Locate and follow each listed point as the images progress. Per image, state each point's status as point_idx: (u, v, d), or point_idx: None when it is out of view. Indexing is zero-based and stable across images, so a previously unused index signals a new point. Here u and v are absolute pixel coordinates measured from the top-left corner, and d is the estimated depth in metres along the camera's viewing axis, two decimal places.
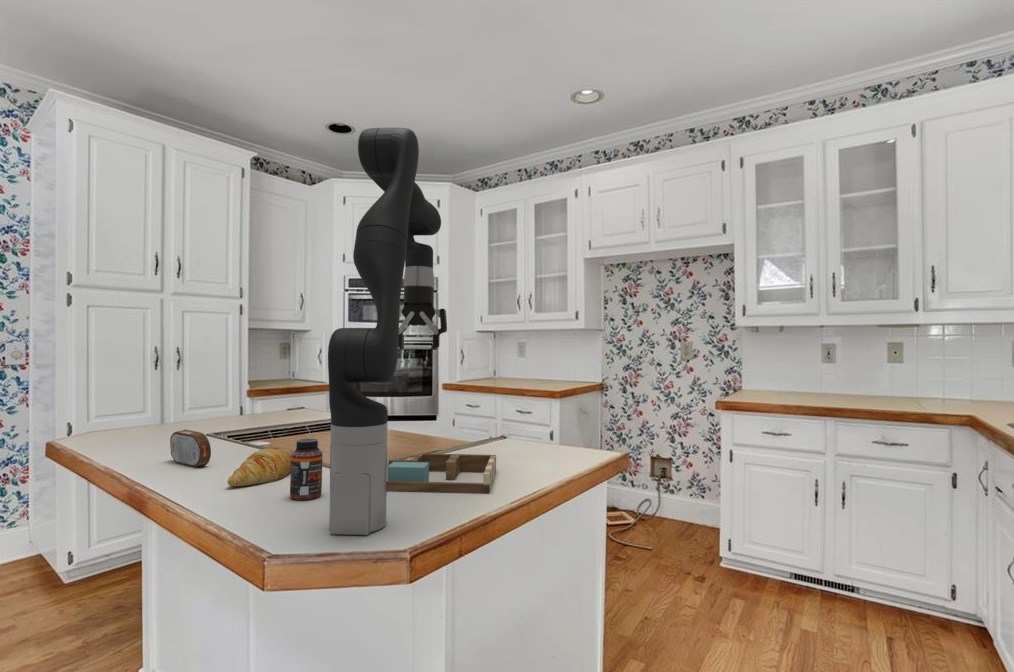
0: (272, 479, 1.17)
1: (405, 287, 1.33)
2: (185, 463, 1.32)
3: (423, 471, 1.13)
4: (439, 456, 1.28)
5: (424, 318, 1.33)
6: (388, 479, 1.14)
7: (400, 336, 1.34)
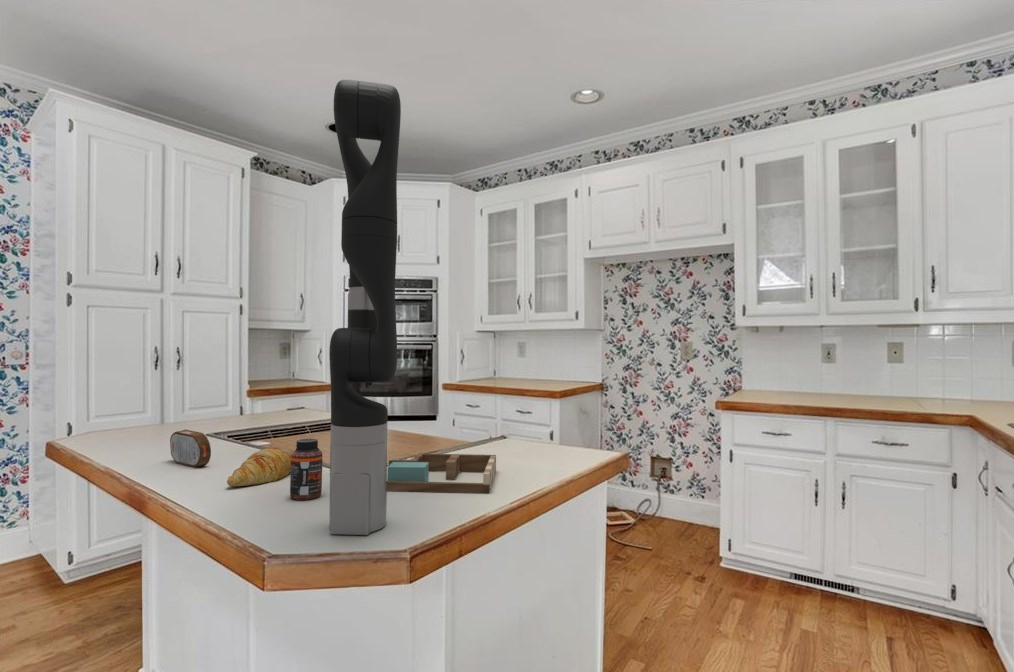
0: (272, 479, 1.17)
1: (349, 311, 1.15)
2: (185, 463, 1.32)
3: (424, 471, 1.13)
4: (439, 456, 1.28)
5: None
6: (388, 479, 1.13)
7: None
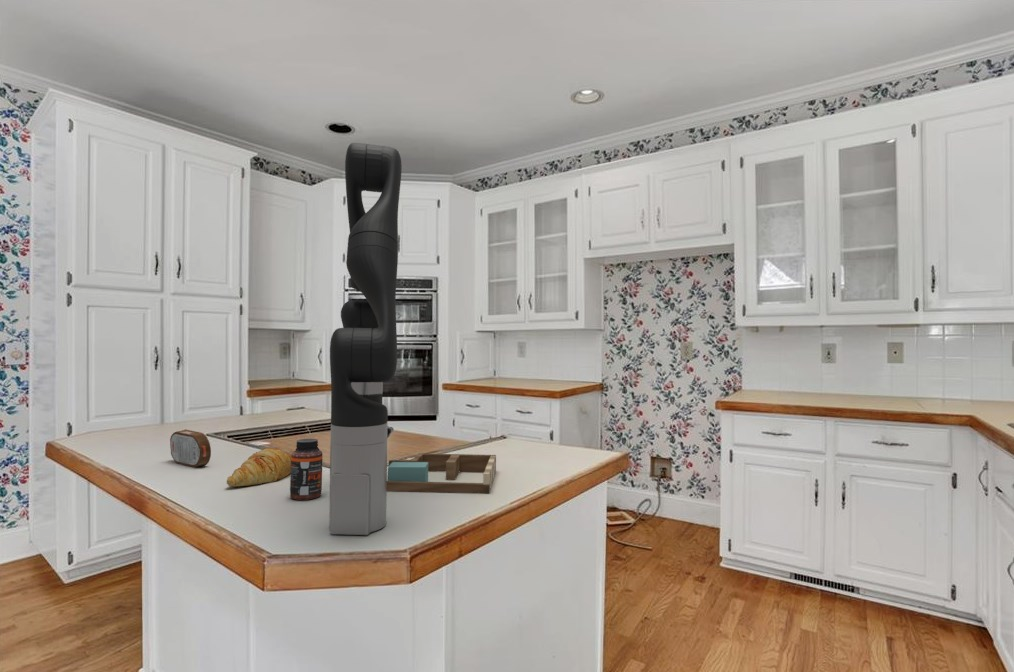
0: (272, 479, 1.17)
1: None
2: (185, 463, 1.32)
3: (424, 471, 1.14)
4: (439, 456, 1.28)
5: None
6: (389, 479, 1.13)
7: None
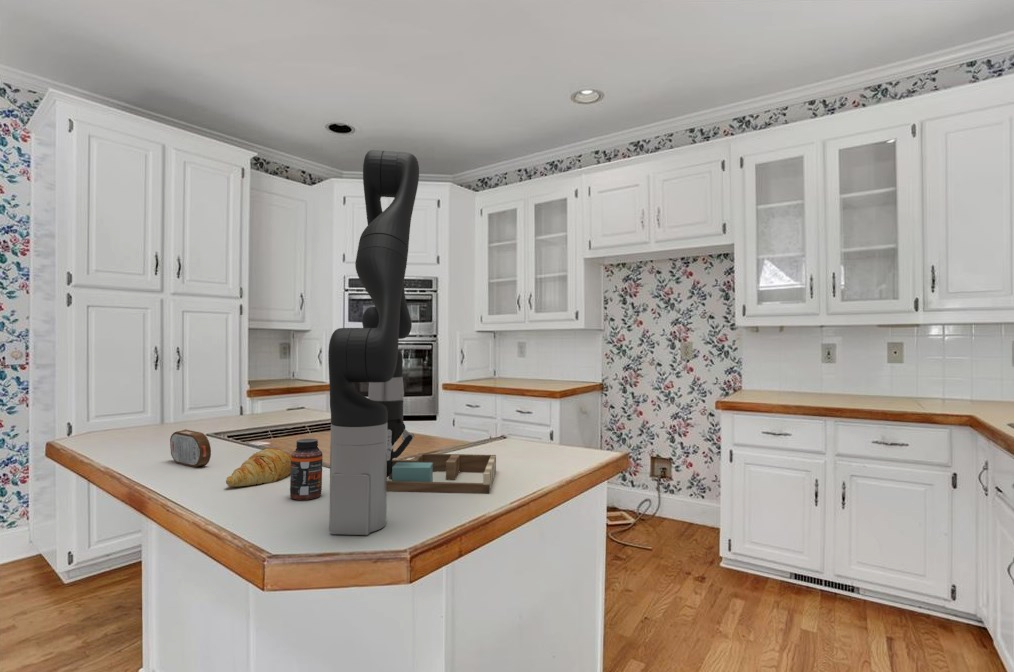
0: (271, 480, 1.16)
1: None
2: (185, 463, 1.32)
3: (429, 471, 1.13)
4: (439, 456, 1.28)
5: (387, 437, 1.15)
6: (393, 480, 1.13)
7: None
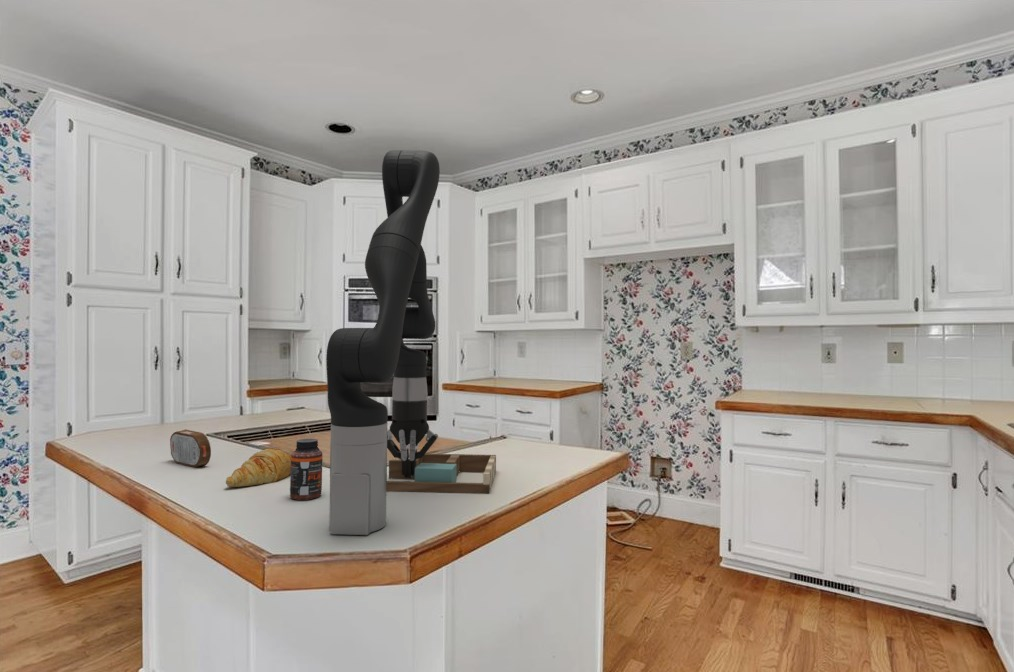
0: (271, 480, 1.16)
1: (394, 401, 1.14)
2: (185, 463, 1.32)
3: (450, 473, 1.12)
4: (439, 456, 1.28)
5: (412, 438, 1.14)
6: (415, 480, 1.12)
7: (405, 463, 1.15)
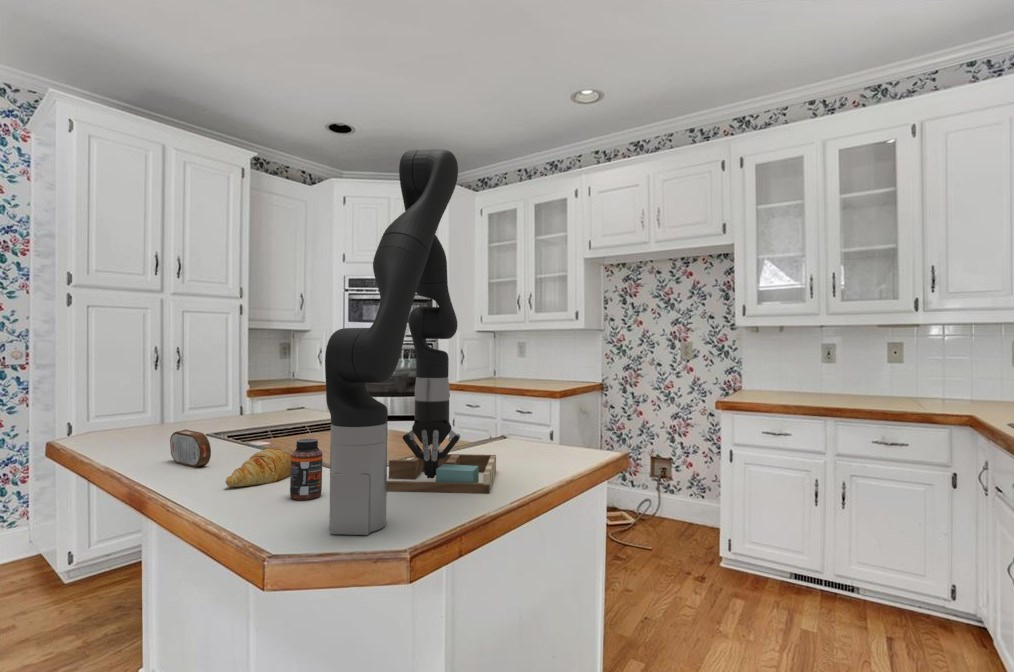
0: (271, 480, 1.16)
1: (416, 402, 1.14)
2: (185, 463, 1.32)
3: (471, 475, 1.11)
4: None
5: (434, 438, 1.14)
6: (437, 481, 1.12)
7: (428, 463, 1.15)
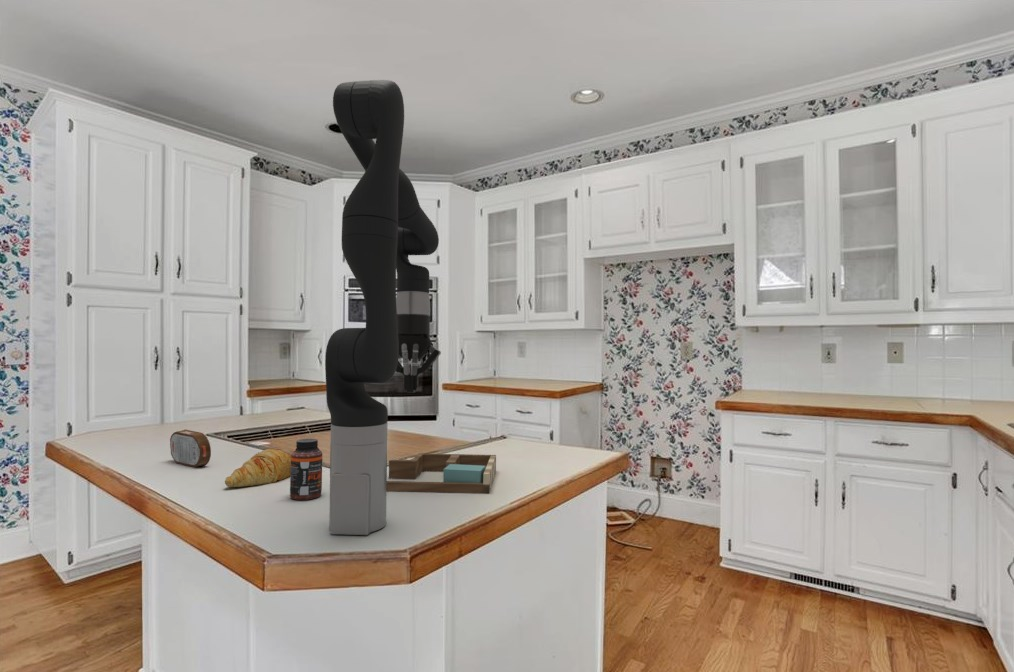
0: (271, 480, 1.16)
1: (396, 315, 1.14)
2: (185, 463, 1.32)
3: (479, 474, 1.11)
4: (439, 456, 1.28)
5: (414, 352, 1.15)
6: (444, 481, 1.12)
7: (408, 377, 1.15)
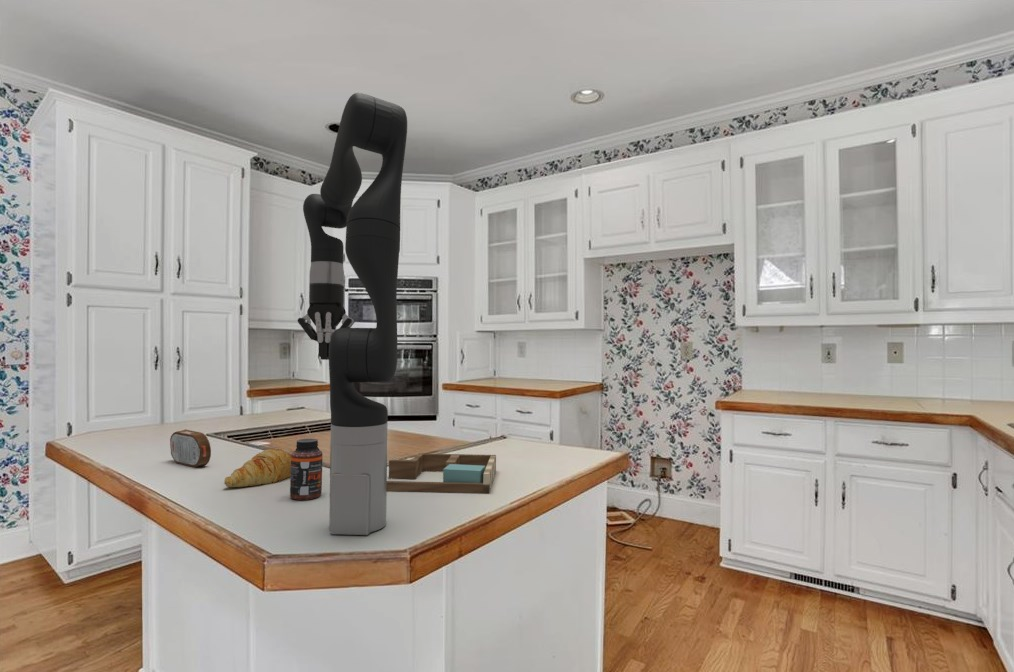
0: (271, 481, 1.16)
1: (310, 285, 1.19)
2: (185, 463, 1.32)
3: (479, 474, 1.11)
4: (439, 456, 1.28)
5: (327, 320, 1.19)
6: (444, 481, 1.12)
7: (322, 345, 1.19)
